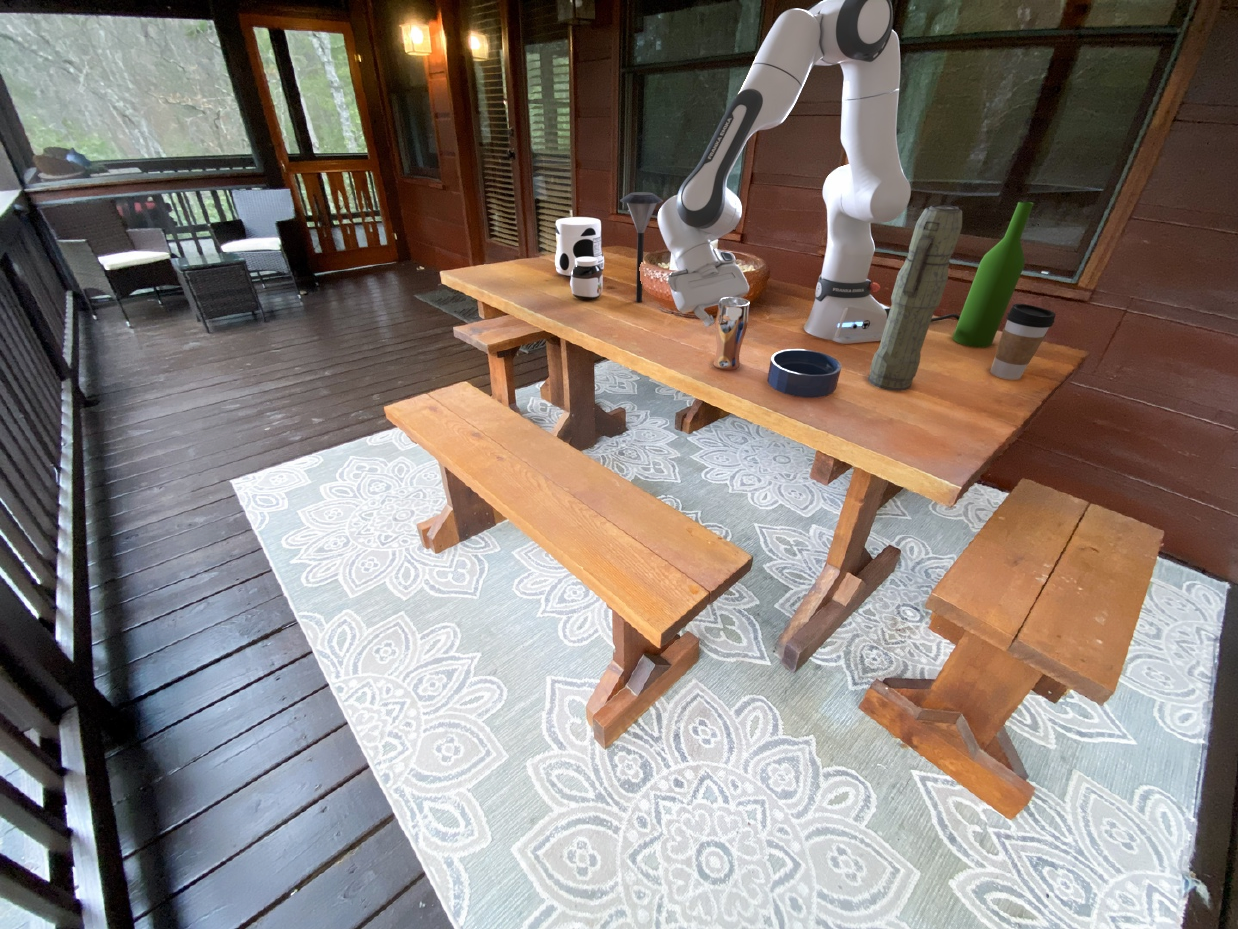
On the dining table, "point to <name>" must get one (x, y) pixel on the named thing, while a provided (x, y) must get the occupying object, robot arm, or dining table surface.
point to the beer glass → (730, 332)
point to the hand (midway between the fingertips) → (725, 320)
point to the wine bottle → (993, 285)
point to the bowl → (803, 373)
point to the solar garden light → (640, 224)
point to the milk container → (577, 242)
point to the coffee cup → (1020, 339)
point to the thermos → (916, 297)
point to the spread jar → (586, 279)
